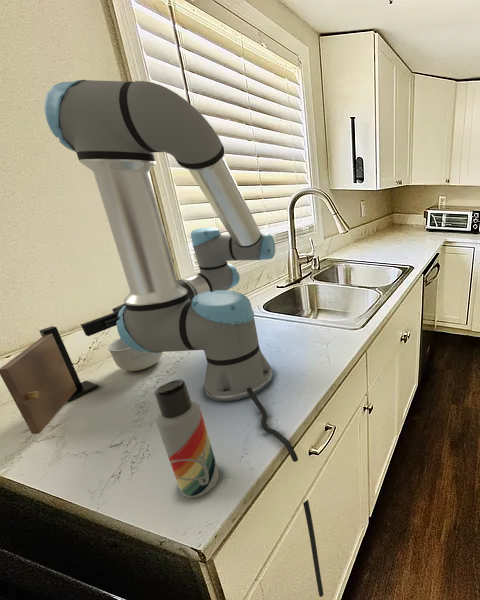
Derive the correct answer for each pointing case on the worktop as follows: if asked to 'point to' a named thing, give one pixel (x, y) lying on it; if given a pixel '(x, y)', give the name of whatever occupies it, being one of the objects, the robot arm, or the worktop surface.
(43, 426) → the door
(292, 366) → the worktop surface
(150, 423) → the worktop surface
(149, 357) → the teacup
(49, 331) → the door post
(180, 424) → the lotion bottle
